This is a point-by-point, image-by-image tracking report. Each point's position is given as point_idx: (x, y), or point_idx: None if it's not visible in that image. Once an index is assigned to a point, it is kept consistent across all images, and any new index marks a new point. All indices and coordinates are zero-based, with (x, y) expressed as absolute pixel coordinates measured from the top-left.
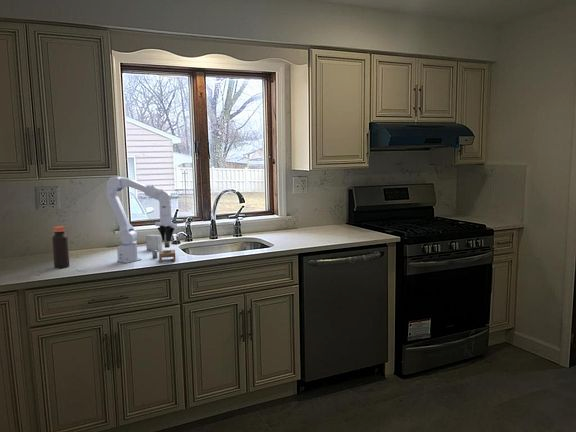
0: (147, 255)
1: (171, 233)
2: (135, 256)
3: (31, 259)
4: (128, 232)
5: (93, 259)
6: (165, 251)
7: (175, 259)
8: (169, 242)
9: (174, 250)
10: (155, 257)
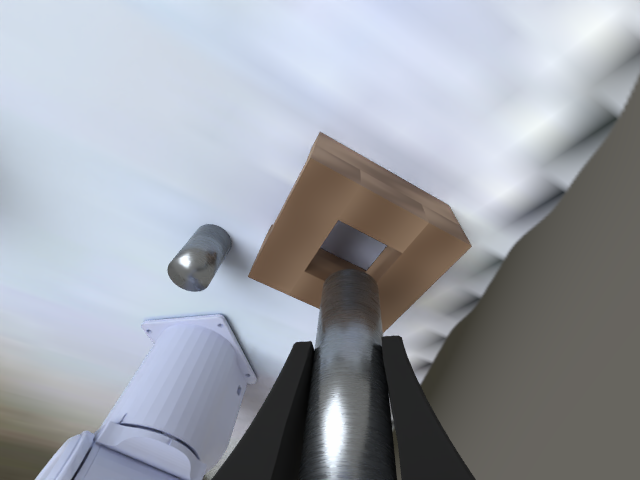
0: (95, 233)
1: (447, 458)
2: (224, 361)
3: (21, 469)
4: None
5: (94, 405)
6: (313, 256)
7: (452, 213)
8: (375, 319)
9: (350, 186)
10: (229, 249)
